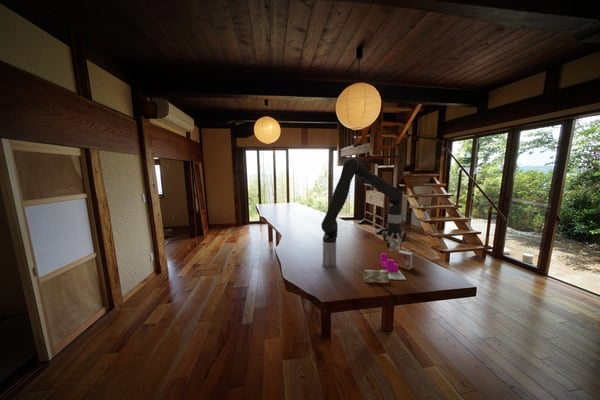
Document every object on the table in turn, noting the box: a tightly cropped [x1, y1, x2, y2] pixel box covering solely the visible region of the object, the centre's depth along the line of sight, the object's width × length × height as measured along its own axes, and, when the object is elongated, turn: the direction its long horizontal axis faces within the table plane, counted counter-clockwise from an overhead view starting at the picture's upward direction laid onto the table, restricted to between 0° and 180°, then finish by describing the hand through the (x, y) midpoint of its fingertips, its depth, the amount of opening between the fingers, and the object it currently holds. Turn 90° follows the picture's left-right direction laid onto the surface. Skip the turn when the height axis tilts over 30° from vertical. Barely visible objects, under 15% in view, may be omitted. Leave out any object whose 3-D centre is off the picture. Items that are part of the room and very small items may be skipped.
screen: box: [363, 269, 390, 284], centre depth 123 cm, size 14×3×6 cm, turn 83°
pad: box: [379, 269, 407, 281], centre depth 130 cm, size 12×11×1 cm
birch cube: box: [388, 239, 401, 252], centre depth 128 cm, size 6×6×6 cm
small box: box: [396, 249, 414, 271], centre depth 141 cm, size 8×6×10 cm
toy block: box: [379, 252, 399, 272], centre depth 139 cm, size 15×6×8 cm, turn 176°
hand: (393, 248), depth 128 cm, fingers closed on birch cube, 5 cm apart
